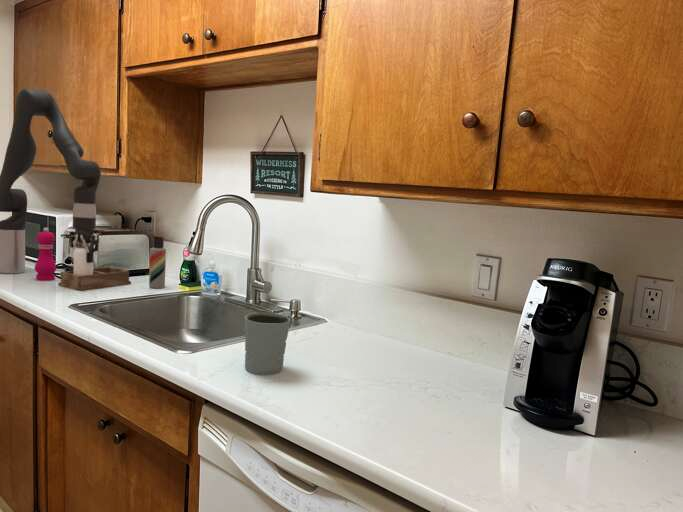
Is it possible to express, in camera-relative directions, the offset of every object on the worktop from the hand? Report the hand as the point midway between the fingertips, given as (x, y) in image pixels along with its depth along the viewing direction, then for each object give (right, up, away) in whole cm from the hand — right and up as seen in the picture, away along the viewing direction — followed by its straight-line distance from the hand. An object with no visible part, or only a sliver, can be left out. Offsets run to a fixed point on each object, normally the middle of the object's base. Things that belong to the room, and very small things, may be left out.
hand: (83, 261), depth 188 cm
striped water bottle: (+23, -10, +10) cm, 27 cm away
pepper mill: (-19, -7, +9) cm, 22 cm away
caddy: (+2, -9, +6) cm, 11 cm away
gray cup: (+77, -24, -70) cm, 107 cm away
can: (-1, -7, +1) cm, 7 cm away
